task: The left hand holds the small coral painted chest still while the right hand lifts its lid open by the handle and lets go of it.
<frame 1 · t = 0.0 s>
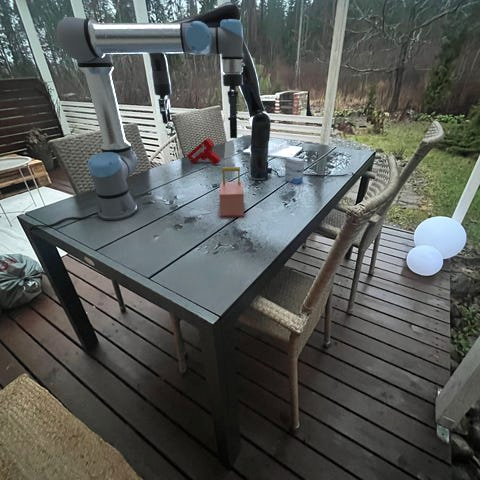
left hand: (233, 134, 111), 28 cm above the table, tool pointing down, fingers open, 13 cm apart
right hand: (167, 121, 130), 29 cm above the table, tool pointing down, fingers open, 8 cm apart
toy gun: (204, 163, 171), on the table
relief map: (273, 151, 194), on the table
ink box: (293, 181, 143), on the table
lid: (231, 180, 108), point 13 cm above the table, hinge at 0.0°
chest: (232, 210, 115), on the table
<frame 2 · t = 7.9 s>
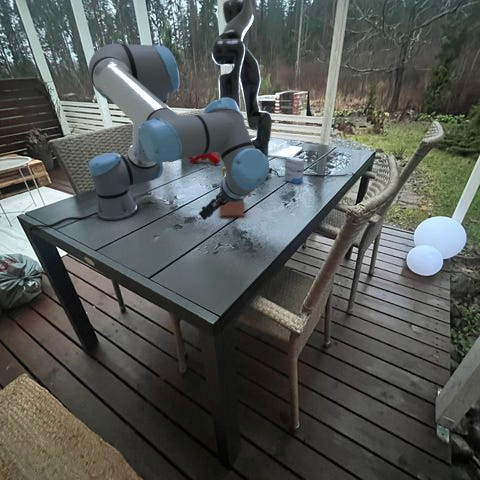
left hand: (223, 200, 89), 14 cm above the table, tool tilted 55°, fingers open, 13 cm apart
right hand: (230, 153, 106), 23 cm above the table, tool pointing down, fingers open, 8 cm apart
nothing on the table moved.
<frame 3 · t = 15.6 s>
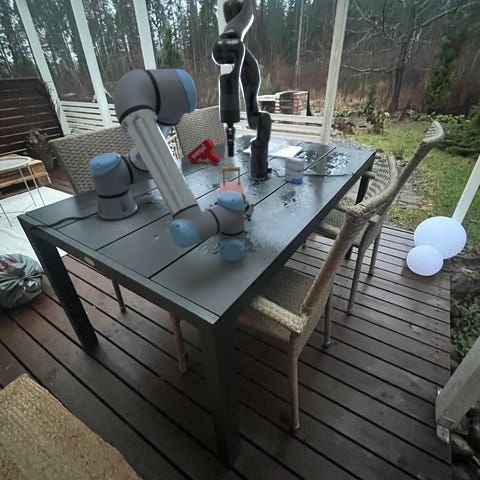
left hand: (231, 199, 110), 6 cm above the table, tool horizontal, fingers closed on chest, 9 cm apart
right hand: (230, 153, 106), 23 cm above the table, tool pointing down, fingers open, 8 cm apart
chest: (232, 210, 115), on the table, touching left hand
everything else where it was.
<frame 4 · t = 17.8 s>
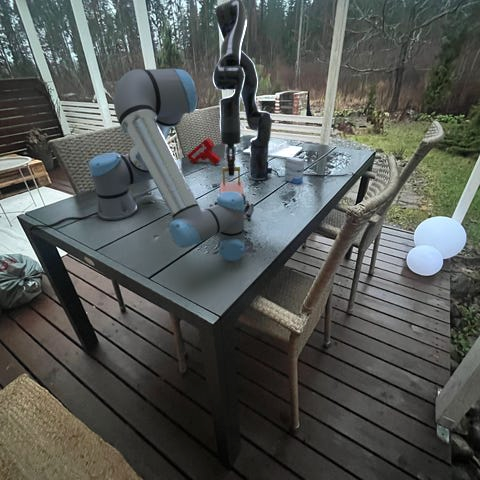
left hand: (231, 199, 110), 6 cm above the table, tool horizontal, fingers closed on chest, 9 cm apart
right hand: (231, 174, 110), 14 cm above the table, tool pointing down, fingers closed on lid
lid: (231, 180, 108), point 13 cm above the table, hinge at 0.1°, touching right hand
chest: (232, 210, 115), on the table, touching left hand
everything else where it was.
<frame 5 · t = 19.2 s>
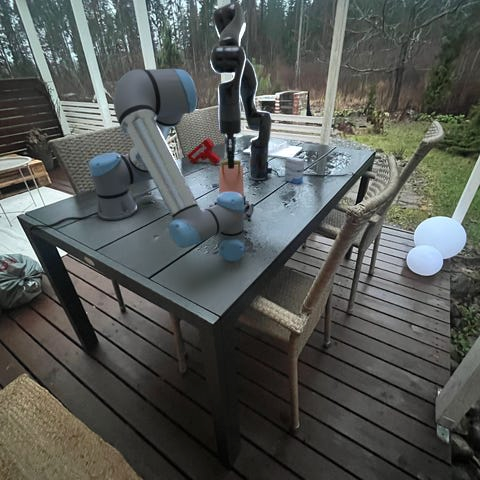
left hand: (231, 199, 110), 6 cm above the table, tool horizontal, fingers closed on chest, 9 cm apart
right hand: (231, 167, 102), 20 cm above the table, tool pointing down, fingers closed on lid, 2 cm apart
lid: (231, 175, 103), point 17 cm above the table, hinge at 38.2°, touching right hand
chest: (232, 210, 115), on the table, touching left hand
everything else where it was.
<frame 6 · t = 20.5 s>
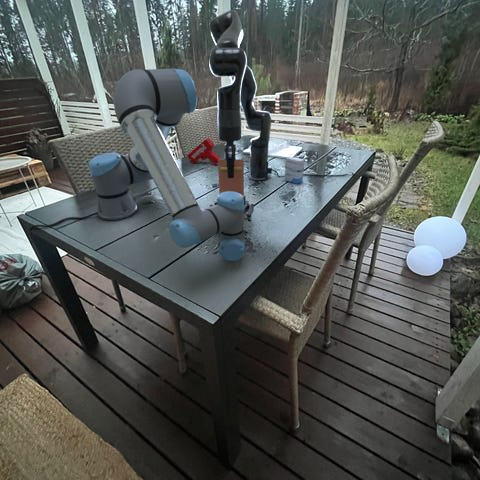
left hand: (231, 199, 110), 6 cm above the table, tool horizontal, fingers closed on chest, 9 cm apart
right hand: (230, 176, 96), 19 cm above the table, tool pointing down, fingers closed
lid: (231, 178, 99), point 17 cm above the table, hinge at 73.8°
chest: (232, 210, 115), on the table, touching left hand
everything else where it was.
when the left hand's fingers open (6 cm above the table, at t = 24.6 s): chest stays where it is, on the table.
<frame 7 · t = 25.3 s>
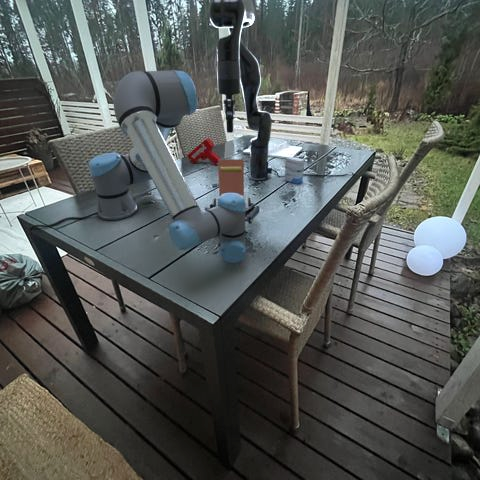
left hand: (232, 201, 108), 6 cm above the table, tool horizontal, fingers open, 13 cm apart
right hand: (230, 129, 97), 32 cm above the table, tool pointing down, fingers open, 8 cm apart
lid: (231, 178, 99), point 17 cm above the table, hinge at 72.7°
chest: (232, 210, 115), on the table
everything else where it was.
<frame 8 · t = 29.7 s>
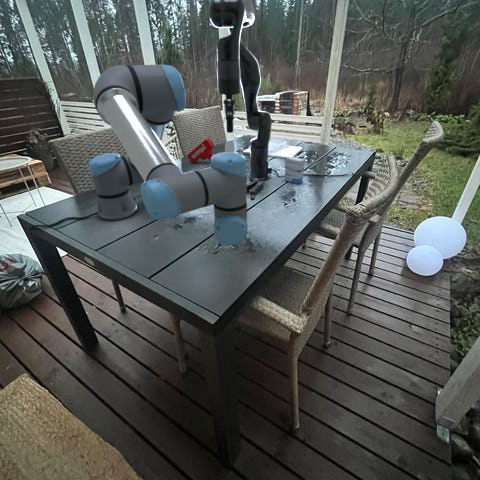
left hand: (230, 176, 90), 21 cm above the table, tool horizontal, fingers open, 13 cm apart
right hand: (230, 129, 97), 32 cm above the table, tool pointing down, fingers open, 8 cm apart
nothing on the table moved.
at the end: lid at +73° (first picture: +0°); the left hand is holding nothing; the right hand is holding nothing; chest tilted 0°; chest never tilted more than 1° during the clip; chest moved 0.1 cm from its start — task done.
